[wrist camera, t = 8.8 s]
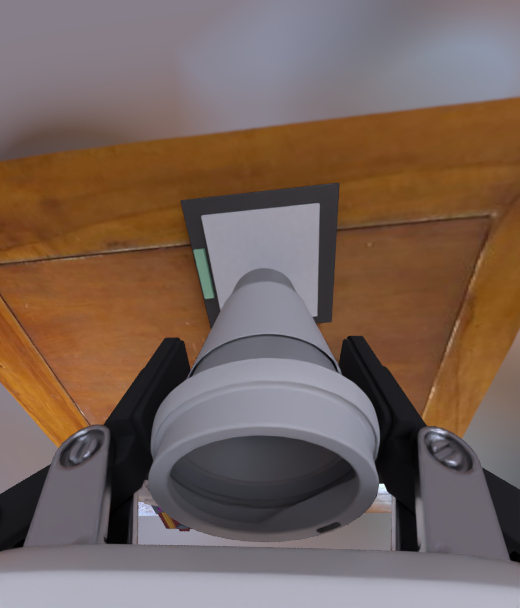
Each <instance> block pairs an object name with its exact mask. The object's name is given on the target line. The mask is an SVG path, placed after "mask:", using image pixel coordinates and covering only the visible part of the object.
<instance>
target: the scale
mask: <svg viewBox="0 0 520 608" xmlns="http://www.w3.org/2000/svg"><path fill="white" fill-rule="evenodd" d="M338 198H339V183H332V184H323V185H314V186H305V187H296V188H287V189H279V190H270V191H261V192H252V193H243V194H234V195H225V196H216V197H207V198H198V199H189V200H181V205H182V209H183V213H184V218H185V222H186V226H187V230H188V234H189V239H190V243H191V247H192V251H193V255H194V260H195V264H196V268H197V272H198V276H199V281H200V285H201V289H202V293H203V297H204V302H205V306H206V310H207V314H208V318H209V323H210V327H211V329H212V327H213V325H214V323H215V321H216V319H217V317H218V315H219V313H220V311H221V309H222V307H223V305H224V303H225V302H226V301H227V299H228V298H229V297H230V296H231V294H232V292H233V290H234V288H235V286H236V284H237V282H238V281H239V279H240V278H241V277H242V276H243V275H245V274H246V273H248V272H250V271H252V270H255V269H259V268H270V269H274V270H277V271H279V272H281V273H283V274H284V275H285V276H287V277H288V278H289V280H290V281H291V282H292V284H293V286H294V288H295V290H296V292H297V294H298V295H299V296H300V297H301V298H302V299H303V301H304V303H305V304H306V306H307V308H308V310H309V312H310V314H311V315H312V317H313V319H314V321H315V323H326V322H332V305H333V287H334V269H335V251H336V234H337V216H338Z"/></svg>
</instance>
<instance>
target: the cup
mask: <svg viewBox="0 0 520 608" xmlns="http://www.w3.org/2000/svg"><path fill="white" fill-rule="evenodd" d="M379 444H380V430H379V425H378V420H377V415H376V412H375V409H374V407H373V405H372V403H371V401H370V400H369V398H368V397H367V395H366V394H365V393H364V392H363V391H362V390H361V389H360V388H359V387H358V386H357V385H356V384H355V383H354V382H352V381H350V380H349V379H347V378H346V377H344V376H342V374H341V370H340V368H339V366H338V364H337V362H336V360H335V358H334V356H333V355H332V353H331V351H330V349H329V347H328V345H327V343H326V342H325V340H324V338H323V336H322V334H321V332H320V330H319V329H318V327H317V325H316V323H315V321H314V319H313V317H312V315H311V314H310V312H309V310H308V308H307V306H306V304H305V303H304V301H303V299H302V298H301V297H300V296H299V295H298V294H297V292H296V290H295V288H294V286H293V284H292V282H291V281H290V280H289V278H288V277H287V276H285V275H284V274H283V273H281V272H279V271H277V270H274V269H270V268H259V269H255V270H252V271H250V272H248V273H246V274H245V275H243V276H242V277H241V278H240V279H239V281H238V282H237V284H236V286H235V288H234V290H233V292H232V294H231V296H230V297H229V298H228V299H227V301H226V302H225V303H224V305H223V307H222V309H221V311H220V313H219V315H218V317H217V319H216V321H215V323H214V325H213V327H212V329H211V331H210V333H209V335H208V337H207V339H206V341H205V343H204V345H203V347H202V349H201V351H200V353H199V355H198V357H197V359H196V361H195V363H194V365H193V367H192V369H191V371H190V373H189V375H188V377H187V380H185V381H184V382H183V383H181V384H180V385H179V386H177V387H176V388H175V389H174V390H173V391H171V392H170V393H169V395H168V396H167V397H166V398H165V399H164V401H163V402H162V403H161V405H160V407H159V409H158V411H157V413H156V415H155V418H154V423H153V427H152V434H151V454H152V457H153V464H152V466H151V469H150V472H149V477H148V487H149V490H150V493H151V496H152V498H153V500H154V501H155V502H156V504H157V505H158V506H159V508H160V509H161V510H163V511H164V512H165V513H166V514H167V515H168V516H170V517H171V518H173V519H174V520H176V521H178V522H179V523H181V524H183V525H185V526H187V527H189V528H192V529H194V530H196V531H199V532H203V533H206V534H209V535H212V536H217V537H221V538H226V539H232V540H240V541H252V542H282V541H291V540H299V539H305V538H309V537H314V536H318V535H322V534H325V533H328V532H331V531H334V530H337V529H339V528H341V527H343V526H345V525H348V524H349V523H351V522H352V521H354V520H356V519H357V518H359V517H360V516H361V515H362V514H363V513H364V512H366V511H367V510H368V509H369V508H370V507H371V505H372V503H373V502H374V500H375V498H376V497H377V493H378V488H379V478H378V474H377V470H376V467H375V463H374V462H375V460H376V458H377V455H378V449H379Z"/></svg>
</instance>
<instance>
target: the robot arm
mask: <svg viewBox="0 0 520 608" xmlns="http://www.w3.org/2000/svg"><path fill="white" fill-rule="evenodd" d="M339 368H340V370H341V374H342V376H344V377H346V378H347V379H349V380H350V381H352V382H354V383H355V384H356V385H357V386H358V387H359V388H360V389H361V390H362V391H363V392H364V393H365V394H366V395H367V397H368V398H369V400H370V401H371V403H372V405H373V407H374V409H375V412H376V415H377V420H378V425H379V430H380V444H379V449H378V455H377V458H376V460H375V462H374V463H375V467H376V470H377V474H378V478H379V484H385V487H386V489H387V492H389V493H390V494H391V495H392V501H391V551H381V550H347V549H312V548H273V547H233V546H188V545H187V546H186V545H138V490H139V489H141V488H142V485H143V483H144V481H145V480H148V477H149V472H150V469H151V466H152V464H153V457H152V454H151V434H152V427H153V423H154V418H155V415H156V413H157V411H158V409H159V407H160V405H161V403H162V402H163V401H164V399H165V398H166V397H167V396H168V395H169V393H170V392H171V391H173V390H174V389H175V388H176V387H177V386H179V385H180V384H181V383H183V382H184V381H185V380H187V377H188V375H189V373H190V371H191V370H190V365H189V361H188V357H187V352H186V348H185V344H184V341H181V340H180V338H165V339H164V340H163V342H162V343H161V345H160V346H159V347H158V349H157V350H156V352H155V353H154V355H153V356H152V358H151V359H150V360H149V362H148V363H147V365H146V366H145V368H143V369H142V370H141V372H140V373H139V374H138V376H137V377H136V379H135V380H134V382H133V383H132V385H131V386H130V387H129V389H128V390H127V392H126V393H125V395H124V396H123V397H122V399H121V400H120V402H119V403H118V405H117V406H116V408H115V409H114V410H113V412H112V413H111V415H110V416H109V418H108V419H107V420H106V422H105V423H104V425H92V426H88V427H85V428H83V429H81V430H79V431H77V432H76V433H74V434H73V435H71V436H70V437H69V438H68V439H67V440H66V441H64V442H63V443H62V445H61V446H60V447H59V448H58V450H57V451H56V453H55V456H54V457H53V460H52V463H51V464H50V465H48V466H47V467H45V468H43V469H42V470H40V471H38V472H37V473H35V474H33V475H32V476H30V477H28V478H26V479H25V480H23V481H21V482H20V483H18V484H16V485H15V486H13V487H11V488H10V489H8V490H6V491H5V492H3V493H1V494H0V608H520V490H519V489H518V488H516V487H514V486H513V485H511V484H509V483H508V482H506V481H504V480H502V479H501V478H499V477H497V476H496V475H494V474H492V473H491V472H489V471H487V470H485V469H484V468H482V466H481V463H480V461H479V459H478V457H477V455H476V453H475V452H474V451H473V449H472V448H471V447H470V446H469V445H468V444H467V443H466V442H465V441H464V440H462V439H461V438H460V437H458V436H457V435H455V434H454V433H452V432H450V431H448V430H446V429H443V428H439V427H436V426H427V425H426V424H425V422H424V421H423V420H422V418H421V417H420V415H419V414H418V412H417V411H416V409H415V408H414V406H413V405H412V403H411V402H410V401H409V399H408V398H407V396H406V395H405V393H404V392H403V390H402V389H401V387H400V386H399V384H398V383H397V382H396V380H395V379H394V377H393V376H392V374H391V373H390V371H389V370H388V369H387V368H386V367H384V366H382V364H381V363H380V361H379V360H378V358H377V357H376V355H375V354H374V352H373V351H372V349H371V348H370V346H369V345H368V343H367V342H366V340H365V339H364V337H363V336H348V337H347V339H344V340H343V343H342V349H341V355H340V360H339Z"/></svg>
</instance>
